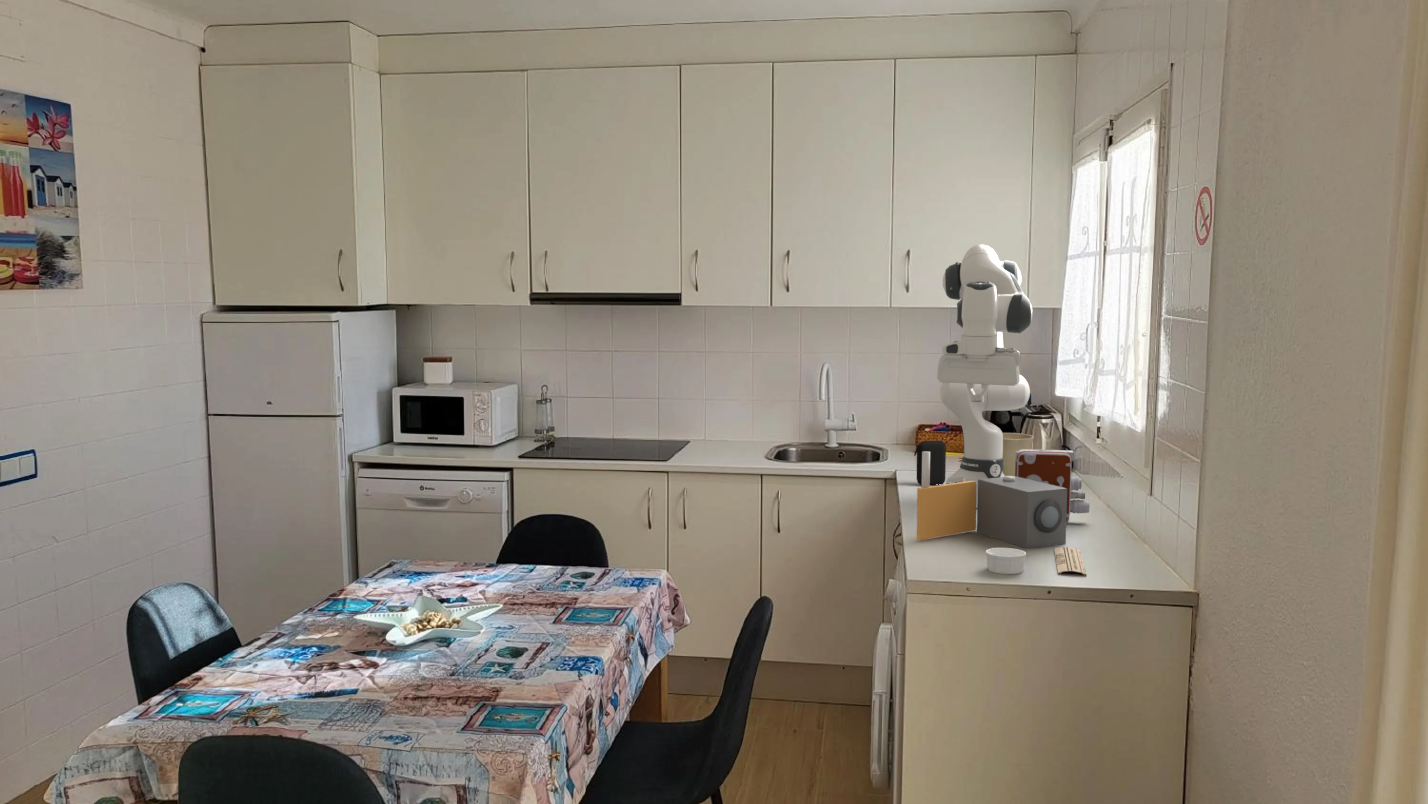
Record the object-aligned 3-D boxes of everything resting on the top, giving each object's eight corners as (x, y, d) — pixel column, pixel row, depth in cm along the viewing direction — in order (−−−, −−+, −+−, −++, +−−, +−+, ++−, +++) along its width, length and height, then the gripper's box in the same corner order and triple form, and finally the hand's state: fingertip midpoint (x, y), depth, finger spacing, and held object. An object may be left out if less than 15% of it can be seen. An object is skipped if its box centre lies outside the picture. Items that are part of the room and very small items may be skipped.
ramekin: (982, 573, 240) (983, 554, 239) (987, 564, 248) (987, 545, 247) (1024, 577, 236) (1024, 557, 236) (1027, 567, 245) (1027, 548, 244)
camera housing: (976, 531, 281) (978, 475, 280) (1014, 527, 286) (1015, 472, 284) (1029, 549, 262) (1031, 488, 260) (1068, 544, 266) (1070, 485, 265)
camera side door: (970, 528, 283) (971, 445, 281) (976, 529, 281) (978, 446, 279) (913, 538, 272) (914, 452, 269) (919, 539, 270) (921, 453, 268)
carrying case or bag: (915, 486, 348) (916, 441, 347) (912, 485, 351) (912, 440, 350) (946, 485, 350) (947, 441, 348) (943, 484, 353) (944, 439, 351)
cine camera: (1090, 527, 286) (1093, 453, 284) (1015, 524, 290) (1017, 451, 288) (1086, 520, 295) (1088, 448, 293) (1013, 517, 299) (1014, 446, 297)
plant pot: (976, 483, 354) (977, 435, 352) (1002, 478, 364) (1003, 431, 362) (1015, 489, 343) (1016, 440, 341) (1041, 483, 352) (1042, 435, 351)
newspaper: (1086, 579, 236) (1086, 571, 236) (1052, 577, 238) (1053, 569, 238) (1080, 554, 259) (1080, 547, 259) (1049, 552, 261) (1049, 545, 261)
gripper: (1023, 347, 266) (1022, 402, 268) (943, 344, 276) (942, 398, 278) (1018, 349, 261) (1016, 405, 262) (935, 346, 270) (934, 401, 272)
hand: (977, 401), depth 270 cm, fingers closed
